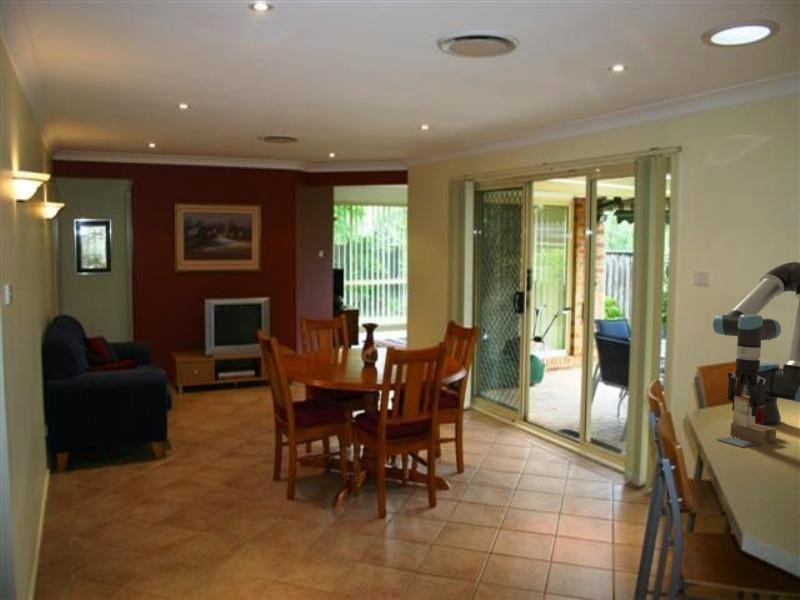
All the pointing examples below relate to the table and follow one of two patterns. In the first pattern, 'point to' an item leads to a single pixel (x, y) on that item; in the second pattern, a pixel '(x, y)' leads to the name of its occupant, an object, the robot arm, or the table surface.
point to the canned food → (760, 416)
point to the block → (741, 410)
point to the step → (754, 433)
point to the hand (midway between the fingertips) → (743, 422)
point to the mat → (737, 441)
